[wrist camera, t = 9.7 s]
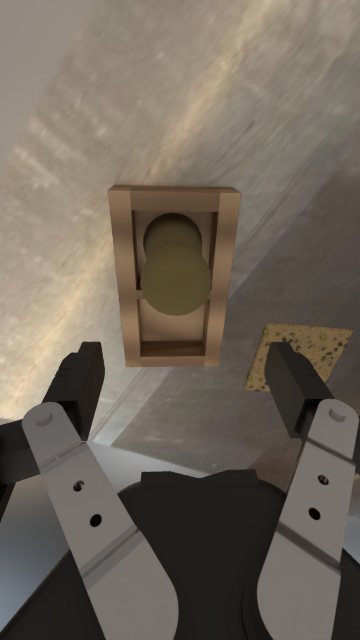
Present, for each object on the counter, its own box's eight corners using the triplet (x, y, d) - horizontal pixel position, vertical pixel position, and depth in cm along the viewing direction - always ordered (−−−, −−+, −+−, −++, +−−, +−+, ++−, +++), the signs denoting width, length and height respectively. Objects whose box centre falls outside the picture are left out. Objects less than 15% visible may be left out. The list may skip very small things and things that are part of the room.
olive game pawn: (151, 203, 26) (144, 236, 17) (211, 223, 27) (235, 263, 18) (136, 262, 29) (123, 318, 20) (191, 278, 30) (202, 336, 21)
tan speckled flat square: (353, 326, 36) (358, 330, 35) (317, 392, 43) (320, 397, 42) (265, 318, 35) (268, 322, 34) (241, 387, 41) (243, 392, 40)
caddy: (114, 185, 26) (108, 190, 23) (232, 187, 26) (241, 193, 23) (129, 348, 36) (126, 367, 33) (214, 347, 36) (218, 365, 33)
